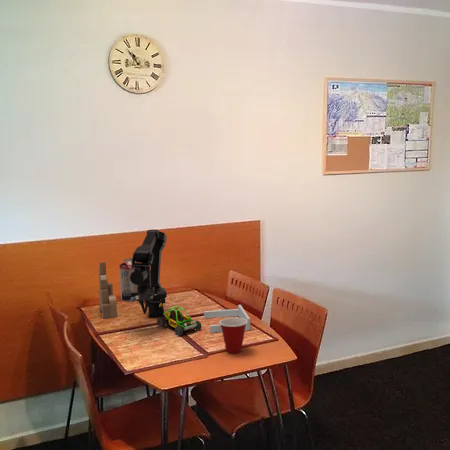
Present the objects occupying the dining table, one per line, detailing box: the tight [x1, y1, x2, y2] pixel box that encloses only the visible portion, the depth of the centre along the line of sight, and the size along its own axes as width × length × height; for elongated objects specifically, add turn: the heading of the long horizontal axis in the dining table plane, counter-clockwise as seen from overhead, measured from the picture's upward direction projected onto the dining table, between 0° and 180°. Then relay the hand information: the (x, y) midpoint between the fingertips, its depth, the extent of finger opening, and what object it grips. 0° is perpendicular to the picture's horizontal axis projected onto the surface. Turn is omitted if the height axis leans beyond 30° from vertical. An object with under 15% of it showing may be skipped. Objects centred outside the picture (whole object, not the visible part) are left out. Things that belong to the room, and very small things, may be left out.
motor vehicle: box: [156, 303, 202, 337], centre depth 208 cm, size 12×19×11 cm, turn 42°
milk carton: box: [119, 256, 137, 303], centre depth 247 cm, size 7×7×22 cm
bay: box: [203, 304, 251, 334], centre depth 213 cm, size 17×19×5 cm
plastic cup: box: [218, 317, 247, 354], centre depth 184 cm, size 11×11×12 cm
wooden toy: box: [98, 261, 118, 320], centre depth 227 cm, size 16×7×25 cm, turn 21°
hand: (144, 313), depth 206 cm, fingers closed
